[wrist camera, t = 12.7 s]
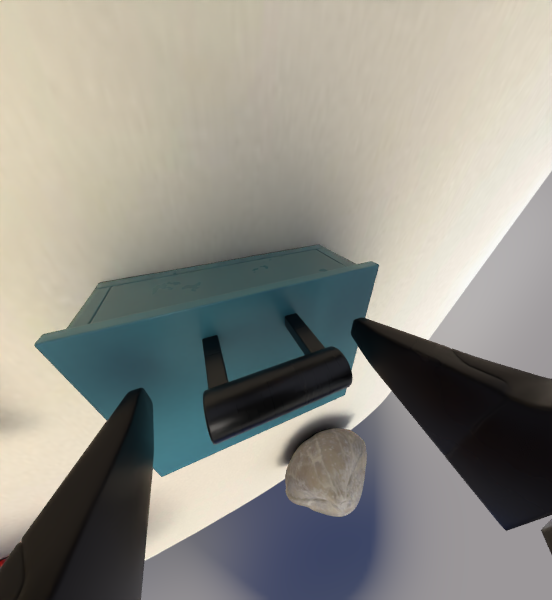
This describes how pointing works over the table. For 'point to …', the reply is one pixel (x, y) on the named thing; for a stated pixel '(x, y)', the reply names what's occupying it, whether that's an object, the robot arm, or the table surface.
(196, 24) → the table surface
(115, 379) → the lid
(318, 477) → the decorative stone
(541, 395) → the robot arm
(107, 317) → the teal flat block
